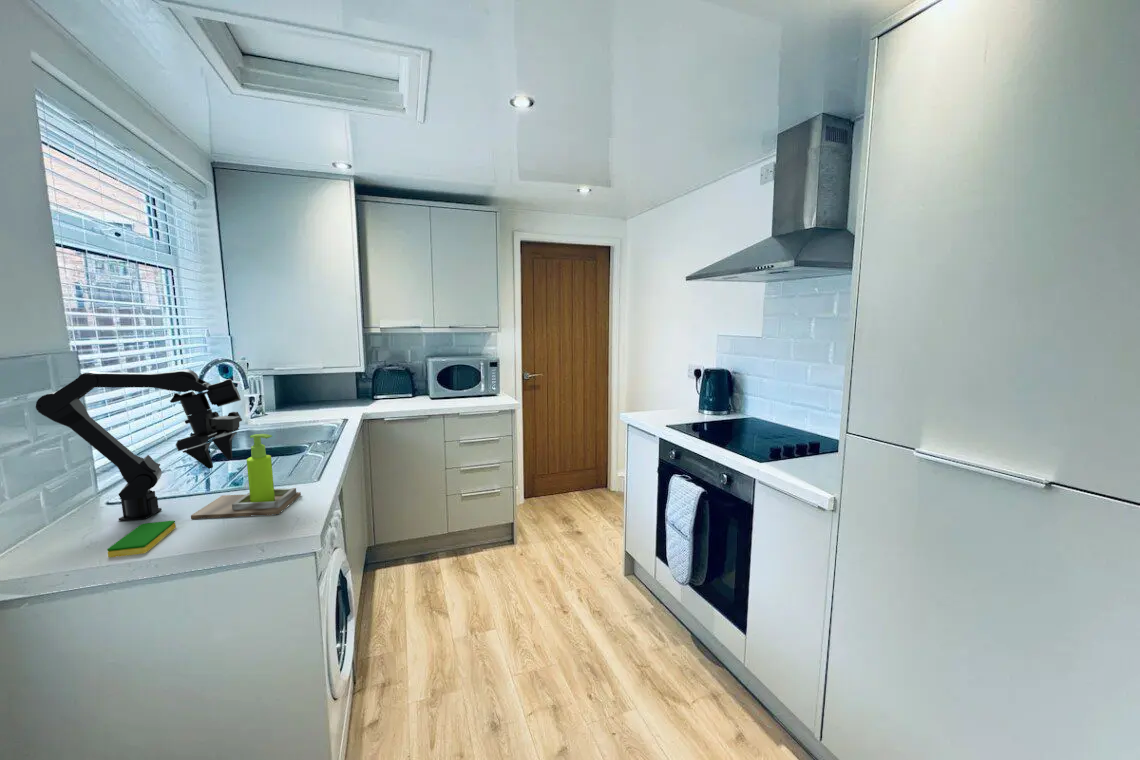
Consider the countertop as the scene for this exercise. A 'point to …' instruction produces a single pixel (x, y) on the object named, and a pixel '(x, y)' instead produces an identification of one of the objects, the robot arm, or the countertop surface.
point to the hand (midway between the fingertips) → (220, 463)
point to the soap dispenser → (260, 472)
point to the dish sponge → (141, 539)
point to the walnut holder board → (247, 505)
